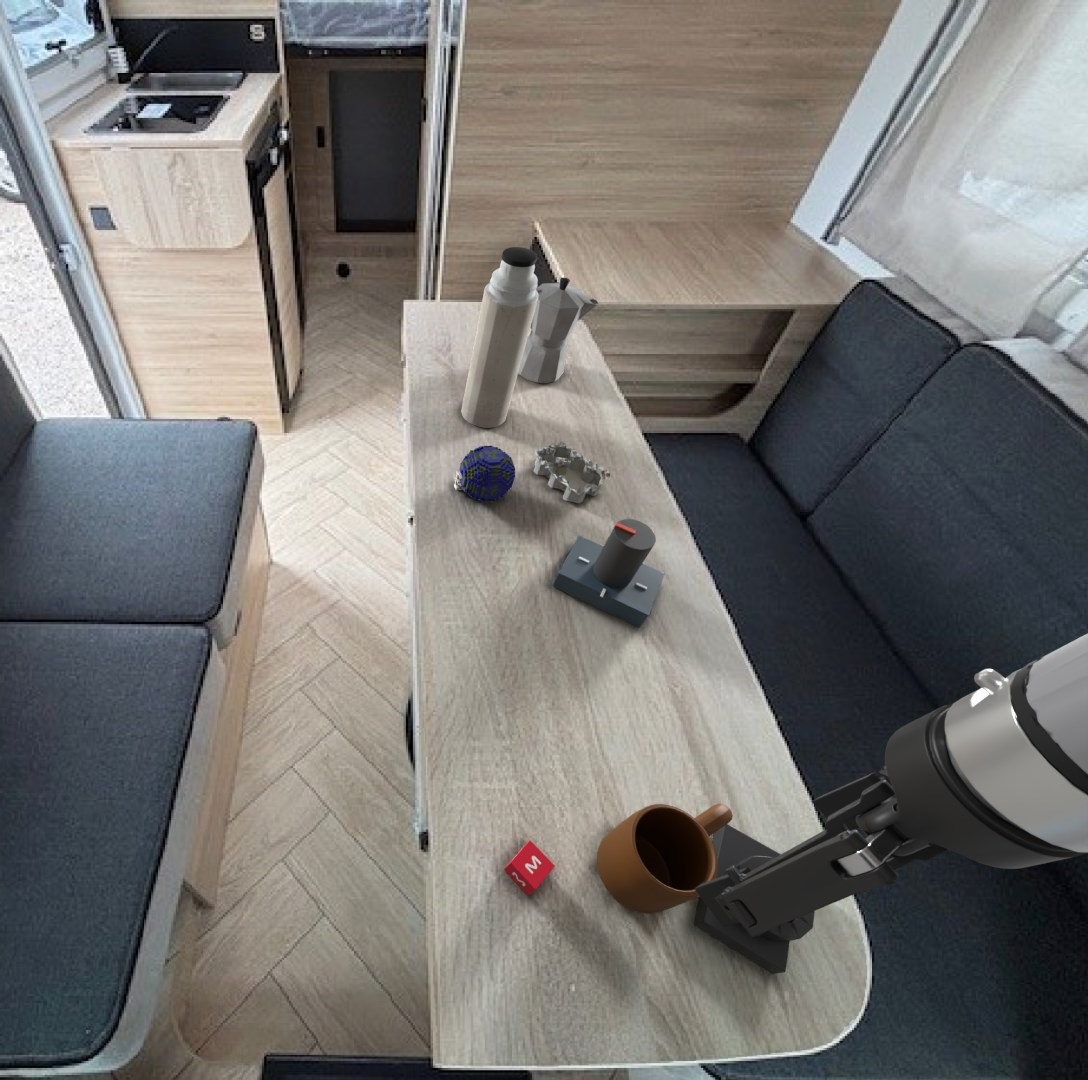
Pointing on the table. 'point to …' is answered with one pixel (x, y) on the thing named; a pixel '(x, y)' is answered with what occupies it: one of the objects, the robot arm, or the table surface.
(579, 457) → the grey jagged hollow block
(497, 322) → the thermos bottle
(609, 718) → the table surface
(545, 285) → the coffeepot
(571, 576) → the dial panel
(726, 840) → the push button switch
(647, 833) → the mug
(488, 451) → the ball
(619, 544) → the temp dial
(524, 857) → the dice
